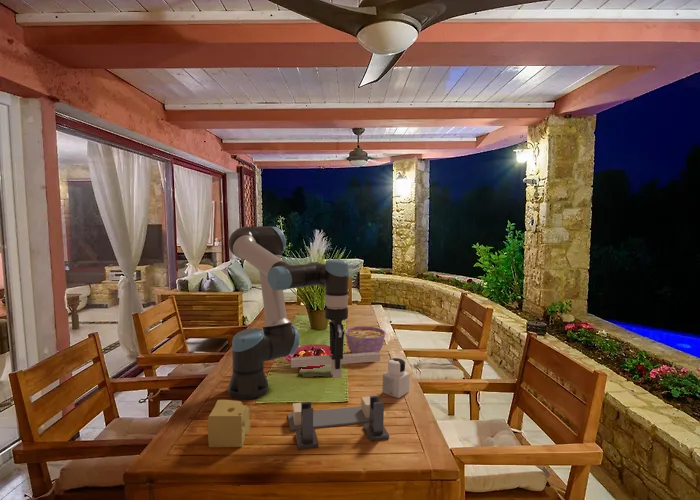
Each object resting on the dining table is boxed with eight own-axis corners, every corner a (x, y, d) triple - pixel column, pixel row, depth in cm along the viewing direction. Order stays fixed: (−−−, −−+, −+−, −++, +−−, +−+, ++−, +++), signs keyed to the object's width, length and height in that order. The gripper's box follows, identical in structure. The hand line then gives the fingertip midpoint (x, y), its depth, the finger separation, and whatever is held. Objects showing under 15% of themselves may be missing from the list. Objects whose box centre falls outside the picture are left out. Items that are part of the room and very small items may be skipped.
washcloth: (300, 366, 179) (300, 359, 179) (339, 366, 180) (339, 359, 180) (298, 378, 166) (298, 371, 166) (340, 378, 167) (340, 370, 167)
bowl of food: (390, 351, 199) (391, 329, 198) (376, 365, 181) (377, 340, 180) (354, 345, 208) (354, 324, 207) (337, 357, 190) (337, 334, 189)
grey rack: (298, 449, 116) (298, 413, 115) (295, 434, 123) (295, 400, 122) (389, 438, 122) (390, 404, 121) (381, 425, 130) (382, 393, 129)
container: (392, 386, 159) (393, 355, 158) (409, 391, 155) (410, 359, 153) (381, 392, 153) (382, 360, 152) (398, 398, 149) (399, 365, 147)
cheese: (250, 429, 126) (250, 399, 125) (242, 449, 115) (242, 416, 115) (217, 429, 126) (217, 399, 125) (206, 449, 115) (205, 416, 114)
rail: (291, 367, 127) (291, 360, 127) (290, 364, 130) (290, 357, 129) (380, 361, 134) (380, 354, 134) (377, 358, 136) (378, 351, 136)
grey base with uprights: (290, 430, 125) (290, 415, 125) (287, 415, 135) (287, 401, 135) (383, 420, 132) (383, 406, 132) (374, 406, 142) (374, 393, 142)
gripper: (353, 311, 124) (352, 384, 126) (342, 301, 139) (342, 366, 141) (329, 312, 122) (328, 386, 124) (321, 302, 137) (321, 367, 139)
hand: (335, 375), depth 132 cm, fingers closed on rail, 2 cm apart
